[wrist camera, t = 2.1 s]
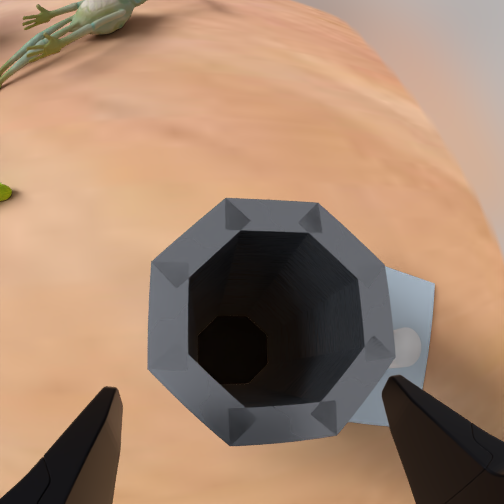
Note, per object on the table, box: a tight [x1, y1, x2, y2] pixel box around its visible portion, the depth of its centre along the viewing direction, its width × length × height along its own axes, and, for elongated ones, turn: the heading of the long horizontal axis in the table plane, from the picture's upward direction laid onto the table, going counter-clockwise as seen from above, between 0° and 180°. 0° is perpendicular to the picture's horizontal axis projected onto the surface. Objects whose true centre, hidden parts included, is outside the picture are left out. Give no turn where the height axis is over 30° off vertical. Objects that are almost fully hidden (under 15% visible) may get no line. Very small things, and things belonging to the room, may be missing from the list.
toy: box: [0, 0, 146, 89], centre depth 25 cm, size 11×7×30 cm
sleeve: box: [148, 198, 396, 446], centre depth 13 cm, size 6×6×12 cm
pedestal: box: [348, 267, 435, 426], centre depth 19 cm, size 11×6×3 cm, turn 165°
